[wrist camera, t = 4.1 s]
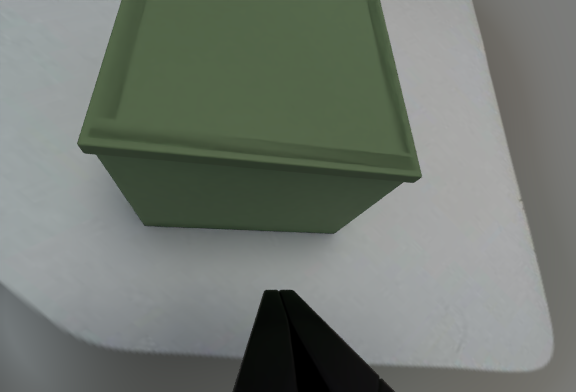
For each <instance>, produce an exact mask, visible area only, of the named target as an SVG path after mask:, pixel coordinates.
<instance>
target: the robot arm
mask: <svg viewBox="0 0 576 392" xmlns="http://www.w3.org/2000/svg"><path fill="white" fill-rule="evenodd" d="M233 392H395V391H394V390H393V389H392V388H391V387H390V386H389V385H388V384H387V383H386V382H385V381H384V380H383V379H379V375H378V374H377V373H376V372H375V371H374V370H373V369H372V368H371V367H370V366H369V365H368V364H367V363H366V362H365V361H364V360H363V359H362V358H361V357H360V356H359V355H358V354H357V353H356V352H355V351H354V350H353V349H352V348H351V347H350V346H349V345H348V344H347V343H346V342H345V341H344V340H343V339H342V338H341V337H340V336H339V335H338V334H337V333H336V332H335V331H334V330H333V329H332V328H331V327H330V326H329V325H328V324H327V323H326V322H325V321H324V320H323V319H322V318H321V317H320V316H319V315H318V314H317V313H316V312H315V311H314V310H313V309H312V308H311V307H310V306H309V305H308V304H307V303H306V302H305V301H304V300H303V299H302V298H301V297H300V296H299V295H298V294H297V293H296V292H295V291H293V290H280V291H278V290H265V291H264V293H263V296H262V299H261V302H260V306H259V309H258V312H257V315H256V318H255V322H254V325H253V328H252V331H251V334H250V338H249V341H248V344H247V347H246V350H245V353H244V357H243V360H242V363H241V366H240V369H239V373H238V376H237V379H236V382H235V385H234V389H233Z"/></svg>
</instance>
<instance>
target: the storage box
mask: <svg viewBox="0 0 576 392" xmlns="http://www.w3.org/2000/svg"><path fill="white" fill-rule="evenodd" d="M77 144H78V146H79V147H80V149H81V150H82V151H83V153H86V154H96V155H97V157H98V158H99V159H100V161H101V162H102V164H103V165H104V167H105V168H106V170H107V171H108V173H109V174H110V176H111V177H112V178H113V180H114V181H115V183H116V184H117V186H118V187H119V189H120V190H121V192H122V193H123V195H124V196H125V198H126V199H127V200H128V202H129V203H130V205H131V206H132V208H133V209H134V211H135V212H136V214H137V215H138V217H139V218H140V220H141V221H142V222H143V224H144V225H145V226H165V227H189V228H213V229H237V230H261V231H285V232H309V233H333V234H334V233H336V232H337V231H338V230H340V229H341V228H342V227H344V226H345V225H346V224H348V223H349V222H351V221H352V220H353V219H355V218H356V217H357V216H359V215H360V214H361V213H363V212H364V211H365V210H367V209H368V208H369V207H371V206H372V205H373V204H375V203H376V202H377V201H379V200H380V199H382V198H383V197H384V196H386V195H387V194H388V193H390V192H391V191H392V190H394V189H395V188H396V187H398V186H399V185H400V184H402V183H403V182H409V183H414V182H416V181H417V180H419V179H420V178H421V177H422V174H421V170H420V166H419V162H418V158H417V153H416V149H415V145H414V141H413V137H412V132H411V128H410V124H409V120H408V116H407V112H406V107H405V103H404V99H403V95H402V91H401V86H400V82H399V78H398V74H397V70H396V65H395V61H394V57H393V53H392V49H391V45H390V40H389V36H388V32H387V28H386V24H385V19H384V15H383V11H382V7H381V3H380V0H122V1H121V4H120V7H119V10H118V14H117V17H116V20H115V23H114V27H113V30H112V33H111V36H110V39H109V43H108V46H107V49H106V52H105V56H104V59H103V62H102V65H101V68H100V72H99V75H98V78H97V81H96V85H95V88H94V91H93V94H92V97H91V101H90V104H89V107H88V110H87V114H86V117H85V120H84V123H83V126H82V130H81V133H80V136H79V139H78V143H77Z"/></svg>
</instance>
